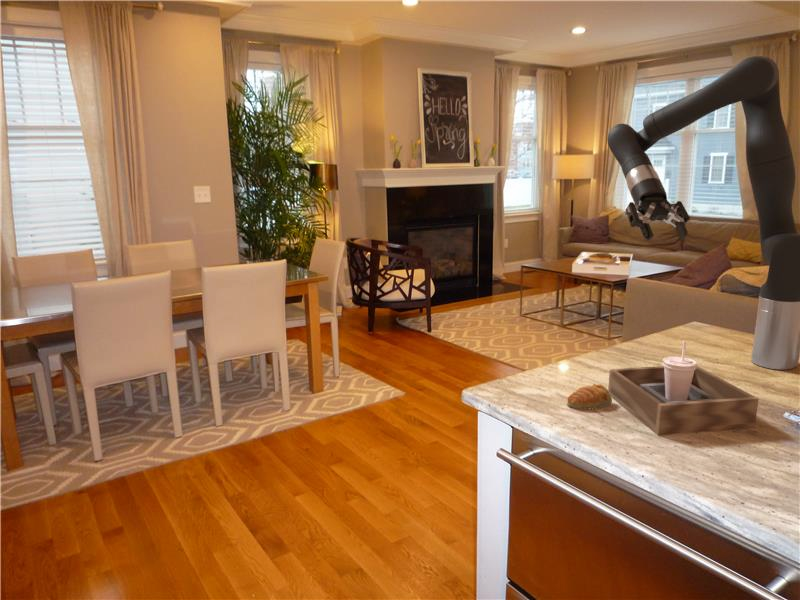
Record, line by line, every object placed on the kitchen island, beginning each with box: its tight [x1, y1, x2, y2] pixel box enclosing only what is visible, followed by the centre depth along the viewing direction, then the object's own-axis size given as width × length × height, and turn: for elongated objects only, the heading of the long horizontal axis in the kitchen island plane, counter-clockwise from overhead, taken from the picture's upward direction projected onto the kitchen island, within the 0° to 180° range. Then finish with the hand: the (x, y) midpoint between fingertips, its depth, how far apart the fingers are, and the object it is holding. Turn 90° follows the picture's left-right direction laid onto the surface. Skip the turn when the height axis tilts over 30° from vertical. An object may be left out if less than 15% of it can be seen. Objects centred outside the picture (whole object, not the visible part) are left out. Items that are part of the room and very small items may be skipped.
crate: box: [607, 365, 759, 436], centre depth 120 cm, size 20×20×6 cm
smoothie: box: [662, 340, 698, 401], centre depth 119 cm, size 6×6×14 cm
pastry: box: [567, 383, 613, 410], centre depth 124 cm, size 9×7×4 cm
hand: (667, 237), depth 138 cm, fingers open, 8 cm apart
